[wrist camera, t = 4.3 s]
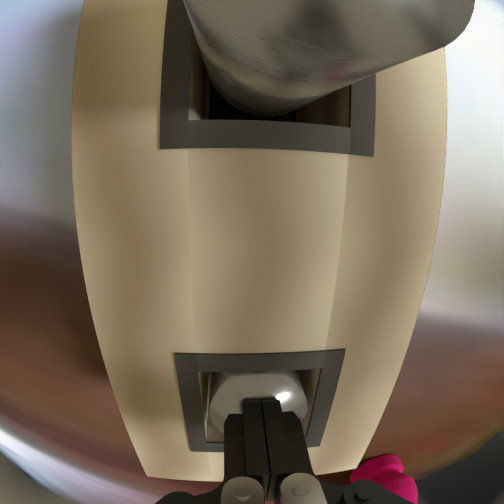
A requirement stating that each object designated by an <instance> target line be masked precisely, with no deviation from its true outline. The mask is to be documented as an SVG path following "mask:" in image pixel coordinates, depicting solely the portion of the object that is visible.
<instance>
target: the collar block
mask: <svg viewBox="0 0 504 504" xmlns="http://www.w3.org/2000/svg"><path fill="white" fill-rule="evenodd" d="M209 101H210V78H209V75H208V72H207V69H206V66H205V63H204V60H203V57H202V54H201V51H200V48H199V45H198V42H197V39H196V36H195V33H194V31H193V28H192V25H191V22H190V19H189V16H188V13H187V10H186V7H185V4H184V1H183V0H84V4H83V9H82V15H81V21H80V27H79V33H78V40H77V48H76V57H75V66H74V78H73V92H72V117H71V153H72V178H73V193H74V205H75V216H76V225H77V233H78V241H79V248H80V255H81V261H82V268H83V273H84V279H85V284H86V290H87V295H88V300H89V304H90V309H91V313H92V318H93V322H94V326H95V330H96V334H97V338H98V342H99V346H100V349H101V353H102V357H103V360H104V364H105V367H106V370H107V374H108V377H109V380H110V383H111V386H112V389H113V392H114V395H115V398H116V401H117V404H118V407H119V410H120V412H121V415H122V418H123V420H124V423H125V426H126V428H127V431H128V433H129V436H130V438H131V441H132V443H133V446H134V448H135V450H136V453H137V455H138V457H139V459H140V462H141V464H142V466H143V468H144V470H145V473H146V475H147V476H149V477H157V478H167V479H179V480H194V481H223V479H224V433H222V432H221V431H219V430H218V429H217V428H216V427H215V426H214V424H213V423H212V421H211V419H210V392H211V375H212V372H265V371H288V370H298V371H299V375H300V378H301V382H302V386H303V389H304V393H305V396H306V400H307V404H308V409H307V413H306V416H305V418H304V419H303V421H302V422H301V424H302V428H303V433H304V437H305V441H306V445H307V449H308V453H309V457H310V462H311V466H312V470H313V472H314V474H315V475H321V474H328V473H334V472H340V471H345V470H350V469H355V468H357V466H358V464H359V462H360V461H361V459H362V457H363V455H364V453H365V451H366V449H367V447H368V445H369V443H370V441H371V438H372V436H373V434H374V432H375V430H376V428H377V426H378V423H379V421H380V419H381V417H382V414H383V412H384V410H385V407H386V405H387V402H388V400H389V398H390V395H391V393H392V390H393V387H394V385H395V382H396V380H397V377H398V374H399V372H400V369H401V366H402V363H403V360H404V357H405V354H406V351H407V348H408V345H409V342H410V339H411V336H412V333H413V329H414V326H415V323H416V319H417V316H418V312H419V309H420V305H421V301H422V297H423V293H424V289H425V285H426V281H427V277H428V272H429V268H430V263H431V258H432V253H433V248H434V243H435V237H436V232H437V225H438V219H439V212H440V205H441V197H442V189H443V180H444V169H445V156H446V139H447V76H446V59H445V47H443V48H440V49H438V50H435V51H433V52H430V53H427V54H425V55H422V56H419V57H416V58H413V59H411V60H408V61H405V62H403V63H400V64H398V65H395V66H392V67H390V68H387V69H385V70H383V71H380V72H378V73H375V74H373V75H370V76H368V77H366V78H363V79H361V80H359V81H356V82H354V83H352V84H350V85H347V86H345V87H343V88H341V89H339V90H336V91H334V92H332V93H330V94H328V95H326V96H324V97H321V98H319V99H317V100H315V101H313V102H311V103H309V104H307V105H305V106H303V107H301V108H299V109H297V110H296V122H282V121H262V120H209Z"/></svg>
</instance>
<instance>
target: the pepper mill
mask: <svg viewBox="0 0 504 504" xmlns="http://www.w3.org/2000/svg"><path fill="white" fill-rule="evenodd" d="M402 471H403V466H402V463H401V461H400V459H399V457H398V456H397V455H393V454H387V455H382V456H378V457H375V458H373V459H371V460H368V461H366V462H364V463H363V464H361V465H359V466H358V467H357V468H355V469H354V470H353V471H352V473H351V474H350V477H349V479H350V483H352V482H354V481H357V480H362V479H366V480H370V481H373V482H375V483H377V484H379V485H380V486H382V487H384V488H386V489H388V490H389V491H391V492H393V493H395V494H397V495H399V496H401V497H402V498H404V499H406V500H408V501H410V502H412V503H414V504H417V497H418V495H417V487H416V484H415V481H414V479H413V478H412V477H411V476H409V475H407V474H404V473H402Z"/></svg>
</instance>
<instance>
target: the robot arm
mask: <svg viewBox="0 0 504 504" xmlns="http://www.w3.org/2000/svg"><path fill="white" fill-rule="evenodd" d="M266 495H267V501H269V500H274V504H414V503H412V502H410V501H408V500H406V499H404V498H402V497H401V496H399V495H397V494H395V493H393V492H391V491H389V490H388V489H386V488H384V487H382V486H380V485H379V484H377V483H375V482H373V481H370V480H366V479H362V480H357V481H354V482H352V483H351V484H349V485H337V484H329V483H326V482H324V481H322V480H320V479H319V478H318V477H317V476H316V475H315V474H314V472H313V470H312V466H311V462H310V457H309V453H308V449H307V445H306V441H305V437H304V433H303V428H302V424H301V420H300V419H299V418H298V416H297V415H296V414H295V413H294V412H293V411H286V412H282V408H281V403H280V400H279V399H278V400H261V402H260V400H258V401H242V414H229V415H228V417H227V418H226V420H225V422H224V479H223V481H222V483H221V484H220V486H219V487H218V488H216V489H215V490H213V491H211V492H208V493H204V494H200V495H196V496H193V495H191V494H189V493H186V492H172V493H169V494H167V495H165V496H164V497H163V498H162V499H160V500H159V501H158V502H157V503H155V504H264V503H265V500H266Z"/></svg>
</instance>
